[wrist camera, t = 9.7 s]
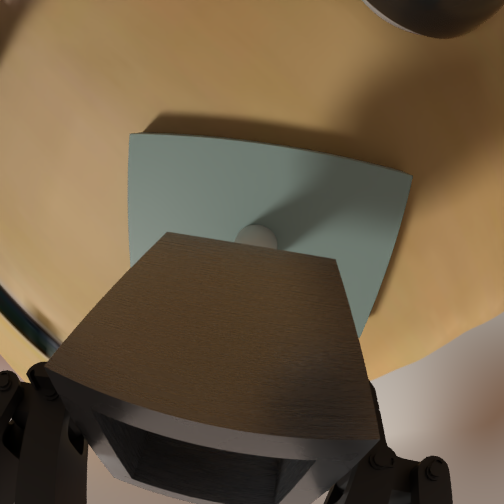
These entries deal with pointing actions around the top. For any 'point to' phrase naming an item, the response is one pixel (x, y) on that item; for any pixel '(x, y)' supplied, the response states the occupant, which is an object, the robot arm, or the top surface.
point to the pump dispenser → (436, 15)
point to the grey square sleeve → (221, 375)
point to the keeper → (269, 203)
